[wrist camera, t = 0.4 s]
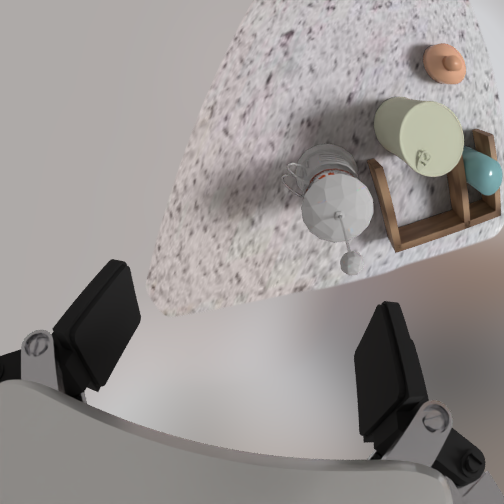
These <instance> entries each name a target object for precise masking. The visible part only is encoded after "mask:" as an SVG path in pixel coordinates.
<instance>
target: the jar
mask: <svg viewBox="0 0 504 504" xmlns="http://www.w3.org/2000/svg"><path fill="white" fill-rule="evenodd" d="M462 157H463V162H464V168H465V175H466V182H467V183H468V184H470V185H471V186H473V187H474V188H475V189H477V190H478V191H479V192H481V193H482V194H484V195H492V194H494V193H495V192H496V191H497V190H498V189H499V187H500V185H501V182H502V169H501V166H500V164H499V163H498V162H497V161H496V160H494V159H492V158H490V157H488V156H487V155H485V154H483V153H481V152H478V151H476V150H474V149H472V148H470V147H468V146H464V147H463V152H462Z"/></svg>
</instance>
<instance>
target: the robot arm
mask: <svg viewBox="0 0 504 504" xmlns="http://www.w3.org/2000/svg"><path fill="white" fill-rule="evenodd" d="M140 320H141V315H140V311H139V307H138V303H137V299H136V294H135V290H134V285H133V281H132V276H131V271H130V268H129V266H127V264H126V263H125V262H123V261H119V260H114V259H112V260H110V261H109V262H108V263H107V264H106V265H105V266H104V267H103V269H102V270H101V271H100V272H99V273H98V274H97V275H96V276H95V278H94V279H93V280H92V281H91V282H90V283H89V285H88V286H87V287H86V288H85V289H84V290H83V292H82V293H81V294H80V295H79V296H78V298H77V299H76V300H75V301H74V302H73V304H72V305H71V306H70V307H69V309H68V310H67V311H66V312H65V314H64V315H63V316H62V317H61V319H60V320H59V321H58V323H57V324H56V325H55V326H54V328H53V331H54V332H53V333H52V334H50V333H49V332H48V331H46V330H36V331H34V332H32V333H30V334H29V335H28V336H27V337H26V338H25V339H24V341H23V343H22V347H21V350H18V351H15V352H11V353H8V354H5V355H2V356H0V504H504V496H503V494H502V493H501V491H500V489H499V488H498V486H497V484H496V483H495V481H494V480H493V478H492V476H491V475H490V473H489V472H488V471H487V472H486V473H485V472H484V469H485V458H484V455H483V453H482V452H481V451H480V450H479V449H478V448H477V447H476V446H474V445H473V444H472V443H471V442H469V441H468V440H467V439H465V438H464V437H463V436H462V435H460V434H459V433H458V432H457V431H456V430H454V429H453V428H452V424H453V417H452V414H451V411H450V410H449V408H448V407H447V406H446V405H445V404H444V403H442V402H440V401H435V400H432V401H429V400H428V395H427V391H426V387H425V382H424V378H423V374H422V370H421V367H420V363H419V359H418V355H417V352H416V349H415V345H414V343H413V340H411V339H410V336H409V332H408V329H407V326H406V322H405V319H404V316H403V313H402V310H401V307H400V305H399V303H396V302H386V301H384V302H383V303H382V304H381V305H378V306H377V307H376V309H375V312H374V314H373V316H372V318H371V321H370V323H369V325H368V327H367V329H366V331H365V333H364V335H363V337H362V339H361V341H360V343H359V345H358V347H357V349H356V351H355V355H354V362H355V374H356V384H357V398H358V412H359V432H360V435H362V436H363V437H364V442H374V449H375V450H374V452H373V453H372V454H371V455H370V456H369V458H368V459H367V460H329V459H307V458H293V457H282V456H273V455H264V454H258V453H250V452H244V451H239V450H233V449H228V448H222V447H217V446H213V445H208V444H204V443H200V442H195V441H191V440H187V439H184V438H180V437H176V436H173V435H169V434H166V433H163V432H159V431H156V430H153V429H150V428H147V427H144V426H141V425H138V424H135V423H132V422H130V421H127V420H124V419H121V418H119V417H116V416H114V415H111V414H109V413H107V412H104V411H102V410H99V409H97V408H95V407H92V406H90V405H88V404H87V401H86V397H85V393H84V390H85V389H86V387H88V388H90V389H92V390H94V391H97V392H98V391H99V389H100V387H101V386H104V385H105V384H106V382H107V380H108V379H109V377H110V375H111V373H112V371H113V369H114V368H115V366H116V364H117V362H118V360H119V358H120V357H121V355H122V353H123V351H124V350H125V348H126V346H127V344H128V343H129V340H130V339H131V337H132V336H133V334H134V332H135V330H136V329H137V327H138V325H139V323H140Z"/></svg>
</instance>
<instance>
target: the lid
mask: <svg viewBox="0 0 504 504" xmlns="http://www.w3.org/2000/svg"><path fill="white" fill-rule="evenodd" d="M423 64H424V67H425V70H426V71H427V73H428V75H429V76H430V77H431V78H432V79H433V80H435V81H436V82H439V83H442V84H458V83H460V82H461V81H462V80H463V79H464V77H465V74H466V66H465V62H464V59H463V57H462V56H461V54H460V53H459V52H458V51H457V50H456V49H455V48H454V47H453V46H451V45H448V44H437V45H433V46H430V47H428V48H427V49H426V50H425V52H424V55H423Z"/></svg>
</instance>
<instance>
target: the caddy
mask: <svg viewBox="0 0 504 504" xmlns="http://www.w3.org/2000/svg"><path fill="white" fill-rule="evenodd" d="M472 132H473V137H474V142H475V148H476V151H478V152H481V153H483V154H485V155H487V156H488V157H490V158H492V159H494V160H496V161H497V155H496V148H495V142H494V136H493V134H490V133H487V132H485V131H482V130H479V129H474V130H472ZM367 163H368V166H369V169H370V172H371V175H372V178H373V182H374V185H375V189H376V192H377V196H378V199H379V203H380V207H381V211H382V214H383V218H384V222H385V227H386V231H387V235H388V238H389V240H390V242H391V244H392V246H393V248H394V250H395V253H396V252H400V251H403V250H406V249H409V248H412V247H415V246H418V245H421V244H424V243H426V242H429V241H432V240H435V239H438V238H441V237H444V236H447V235H449V234H452V233H455V232H458V231H461V230H463V229H466V228H469V227H472V226H474V225H477V224H480V223H482V222H485V221H488V220H490V219H493V218H495V217H498V216H501V203H500V187H499V189H498V190H497V191H496V192H495V193H494V194H492V195H484V194H482V193H481V194H482V200H479V201H476V202H473V203H470V204H469V200H468V190H467V182H466V175H465V168H464V162H463V157H462V155H461V158H460V160H459V162H458V163H457V165H456V166H455V167H454V168H453V169H452V170H451V171H450V172H448V173H447V178H448V185H449V191H450V198H451V206H452V210H450V211H447V212H444V213H441V214H438V215H435V216H432V217H429V218H426V219H423V220H420V221H417V222H414V223H411V224H408V225H405V226H402V227H399V228H398V225H397V221H396V216H395V212H394V208H393V204H392V199H391V196H390V192H389V188H388V184H387V180H386V177H385V173H384V170H383V167H382V166H381V165H380V164H379V163H378V162H377V161H376V160H375V159H370V160H367Z"/></svg>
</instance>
